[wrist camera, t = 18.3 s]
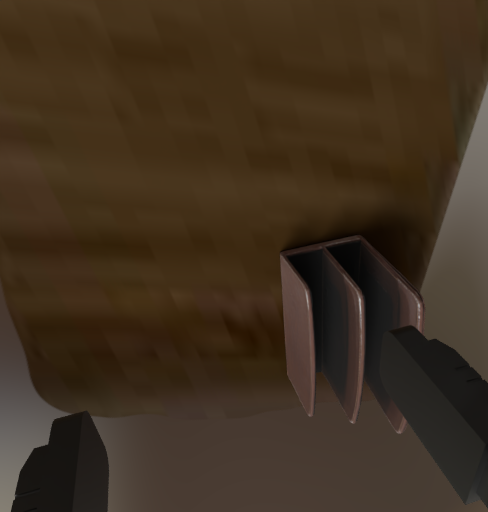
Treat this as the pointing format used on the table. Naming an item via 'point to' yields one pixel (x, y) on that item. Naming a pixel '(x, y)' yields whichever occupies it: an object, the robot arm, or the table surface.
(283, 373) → the table surface
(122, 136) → the table surface
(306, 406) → the letter holder
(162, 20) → the table surface
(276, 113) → the table surface
